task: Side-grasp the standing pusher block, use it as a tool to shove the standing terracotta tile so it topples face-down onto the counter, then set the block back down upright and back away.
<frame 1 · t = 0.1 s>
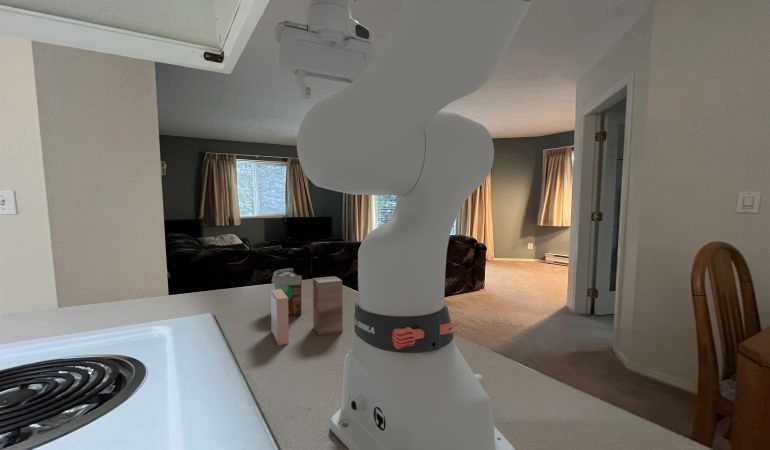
hand: (329, 100, 71), 48 cm above the counter, tool pointing down, fingers open, 8 cm apart
tile: (279, 337, 71), on the counter
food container: (285, 312, 88), on the counter
pusher block: (327, 329, 75), on the counter
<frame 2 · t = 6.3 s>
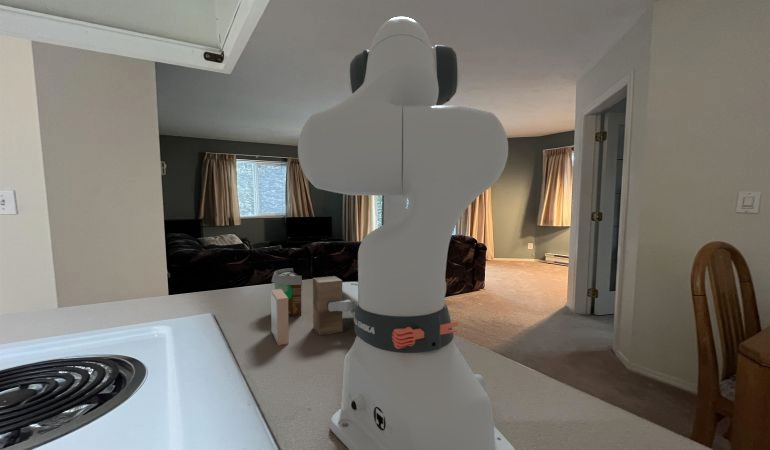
hand: (323, 302, 75), 6 cm above the counter, tool horizontal, fingers closed on pusher block, 5 cm apart
pusher block: (327, 329, 75), on the counter, touching gripper
everything else where it was.
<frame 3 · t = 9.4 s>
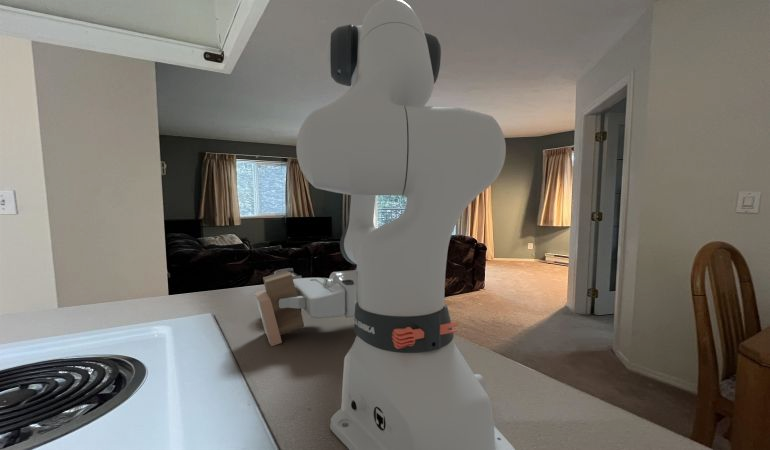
hand: (275, 299, 70), 8 cm above the counter, tool horizontal, fingers closed on pusher block, 5 cm apart
tile: (273, 337, 70), on the counter, tilted 13°, touching pusher block
pusher block: (289, 326, 72), point 2 cm above the counter, tilted 13°, touching gripper, tile
everything else where it was.
when the fingers open (7 cm above the counter, at t = 11.7 s): pusher block stays where it is, on the counter.
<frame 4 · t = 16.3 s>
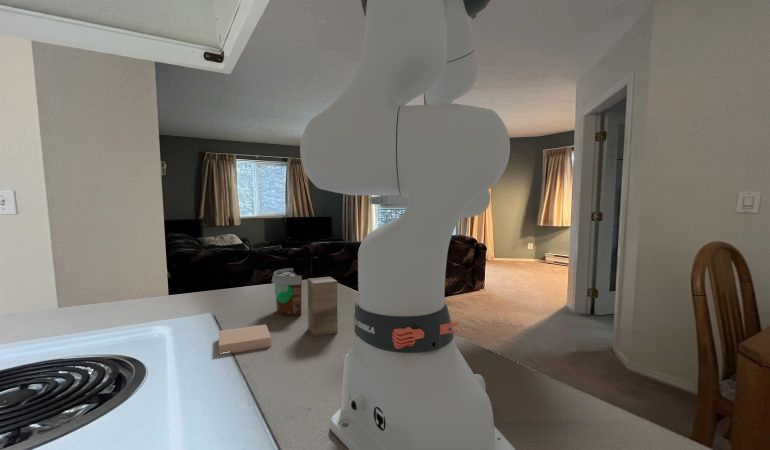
hand: (378, 200, 79), 28 cm above the counter, tool horizontal, fingers open, 8 cm apart
tile: (268, 335, 70), point 1 cm above the counter, tilted 90°
pusher block: (322, 330, 75), on the counter
everything else where it was.
at the end: tile tilted 90°; the gripper is holding nothing; pusher block tilted 0° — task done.
